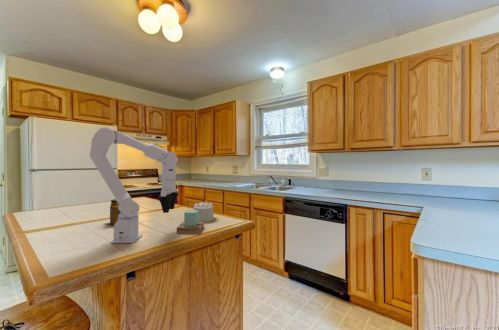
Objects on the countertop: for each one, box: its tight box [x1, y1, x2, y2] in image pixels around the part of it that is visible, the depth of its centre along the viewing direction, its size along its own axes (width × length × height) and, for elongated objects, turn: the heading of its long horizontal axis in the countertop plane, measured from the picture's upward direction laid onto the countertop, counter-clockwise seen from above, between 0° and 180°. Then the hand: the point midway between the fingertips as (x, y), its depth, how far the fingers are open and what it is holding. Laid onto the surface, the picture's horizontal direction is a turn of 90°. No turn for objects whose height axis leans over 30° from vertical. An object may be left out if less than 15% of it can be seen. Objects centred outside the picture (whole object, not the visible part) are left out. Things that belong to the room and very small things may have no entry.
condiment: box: [103, 198, 121, 228], centre depth 116 cm, size 7×8×12 cm
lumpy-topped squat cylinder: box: [193, 202, 215, 223], centre depth 127 cm, size 10×13×9 cm
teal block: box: [183, 209, 199, 226], centre depth 107 cm, size 5×5×6 cm
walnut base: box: [176, 221, 205, 235], centre depth 107 cm, size 10×10×3 cm
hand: (168, 210), depth 104 cm, fingers open, 7 cm apart
